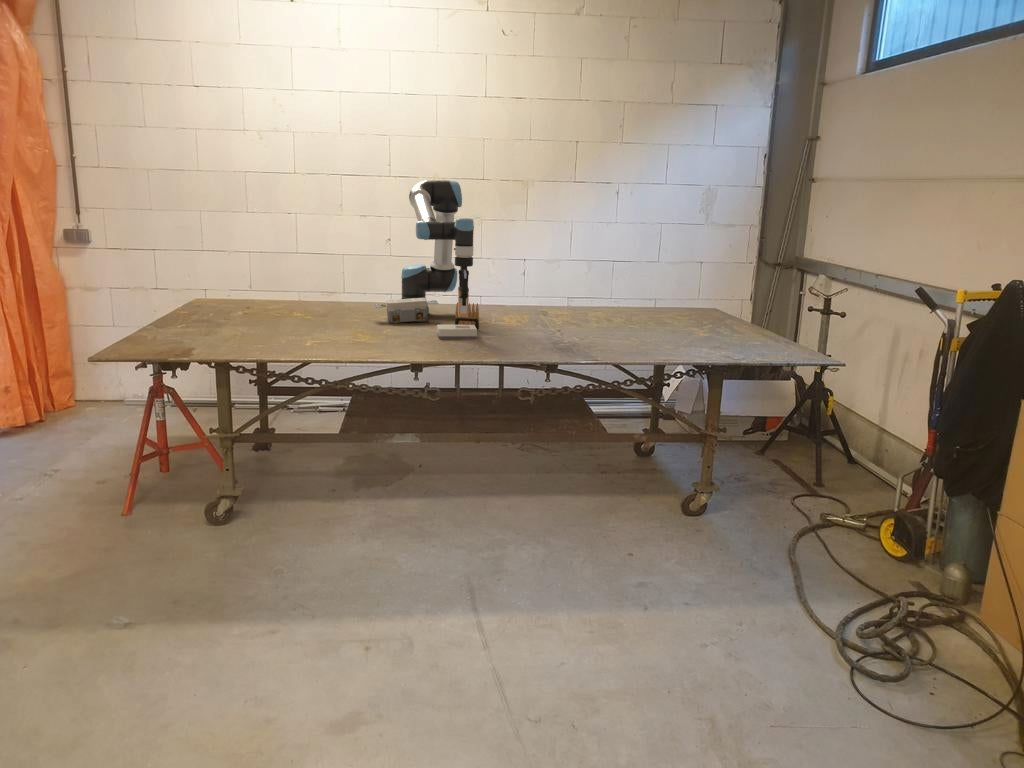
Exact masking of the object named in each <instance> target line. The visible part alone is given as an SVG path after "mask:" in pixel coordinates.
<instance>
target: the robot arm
mask: <svg viewBox="0 0 1024 768" xmlns="http://www.w3.org/2000/svg"><path fill="white" fill-rule="evenodd" d="M408 199H409V204H410V205H411V207H412V208H413V210H414V213H415V215H416V218H417V222H416V223H415V237H416V238H417V240H424V241H428V240H429V241H430V240H432V241H434V247H433V248H434V251H433V252H434V254H433V261H432V262H430V267H426V264H413V265H411V264H410V265H408V266H405V267H403V268H402V269H401V277H400V278H401V298H400V299H412V298H425V299H426V300H427V297H426V295H427V293H448V292H454V290H456V287H457V282H458V284H459V285H458V287H461V296H460V297H459V298H461V303H460V313H467V297H468V288H469V275H470V271H469V269H468V268H469V267H473V265H474V257H473V256H474V233H475V232H474V229H475V224H474V223H475V222H474V219H473V218H470V217H469V218H466V217H465V218H463V217H458V218H455V214H456V213H458V212H459V208H461V207H462V206H463V194H462V188H461V185H460V184H459V182H458V181H455V180H445V179H444V180H443V179H442V180H435V179H433V180H431V179H426V180H420V181H419V182H417V183H415V184H414V185H413V186H412V187H411V189H410V191H409V195H408ZM434 213H435V214H434ZM453 244H454V245H455V246H454V247H453ZM453 251H454V254H455V257H454V263H453V260H452V259H453ZM456 267H459V268H460V269H459V270H458V269H457V268H456ZM427 305H428V306H427V314H428V315H429V314H430V307H429V304H427Z"/></svg>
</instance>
